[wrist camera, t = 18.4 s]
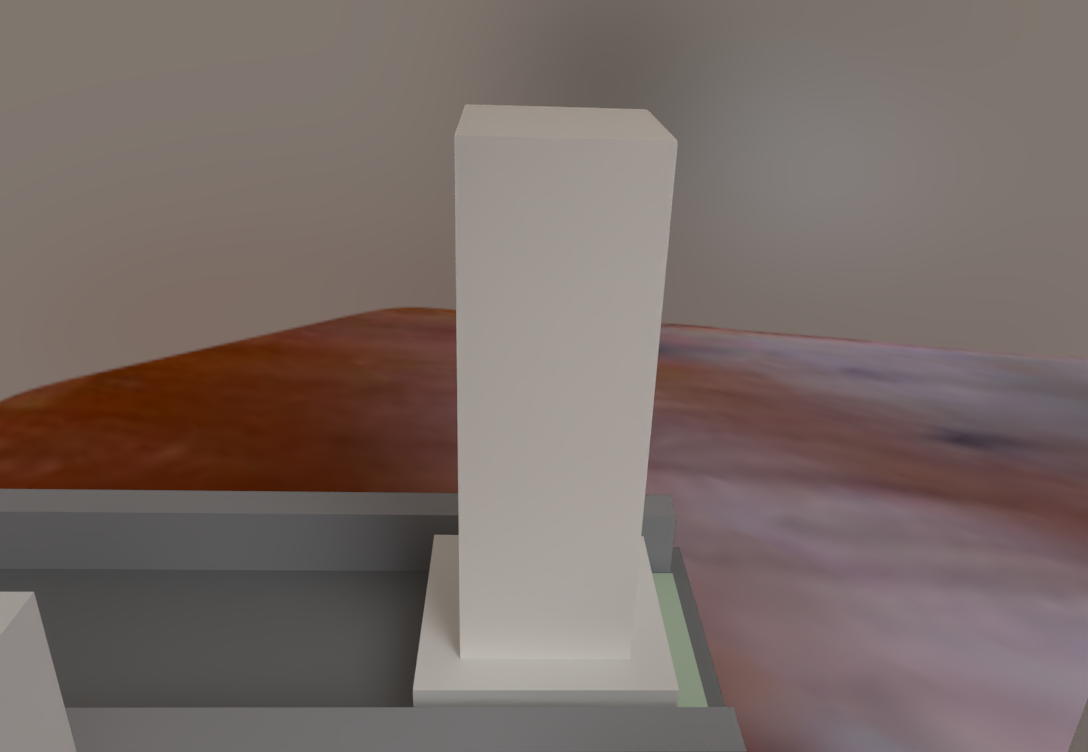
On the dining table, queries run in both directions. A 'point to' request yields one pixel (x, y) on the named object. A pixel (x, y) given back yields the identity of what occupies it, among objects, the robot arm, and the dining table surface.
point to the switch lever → (553, 414)
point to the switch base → (297, 626)
